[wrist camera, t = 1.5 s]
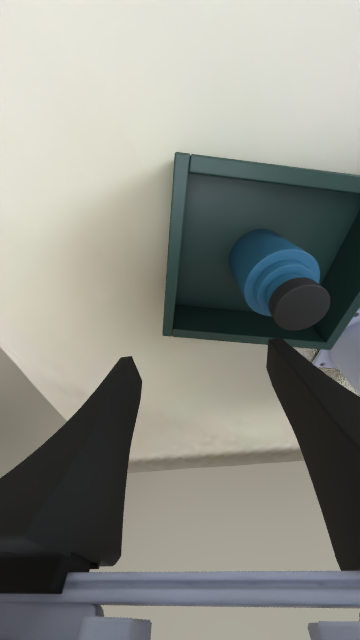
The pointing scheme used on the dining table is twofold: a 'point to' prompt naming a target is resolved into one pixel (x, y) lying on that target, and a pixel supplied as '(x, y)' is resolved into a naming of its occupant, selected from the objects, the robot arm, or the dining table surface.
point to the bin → (243, 217)
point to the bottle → (279, 279)
